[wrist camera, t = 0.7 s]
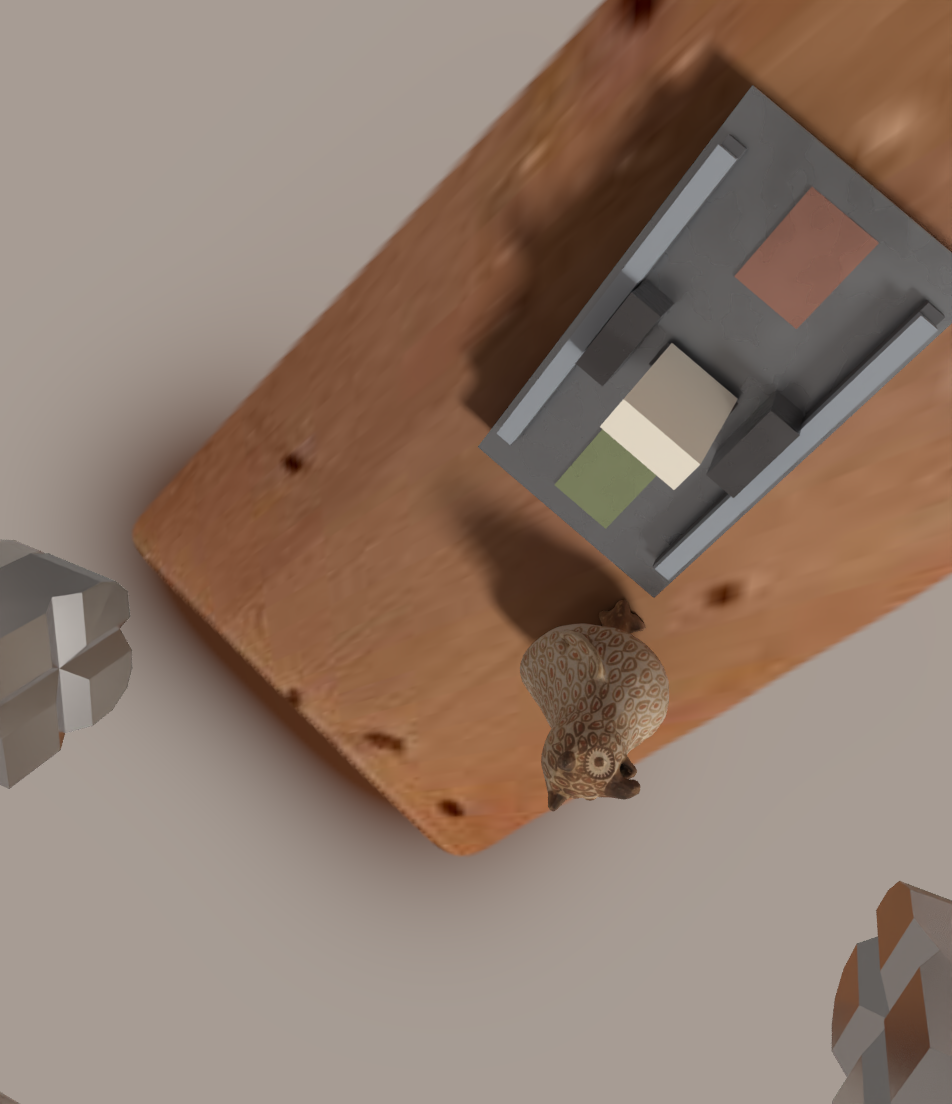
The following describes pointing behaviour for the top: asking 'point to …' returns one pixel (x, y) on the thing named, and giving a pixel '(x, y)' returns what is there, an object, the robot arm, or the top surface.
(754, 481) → the pair of grey bars
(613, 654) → the figurine
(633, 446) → the lever
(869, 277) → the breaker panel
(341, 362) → the top surface
